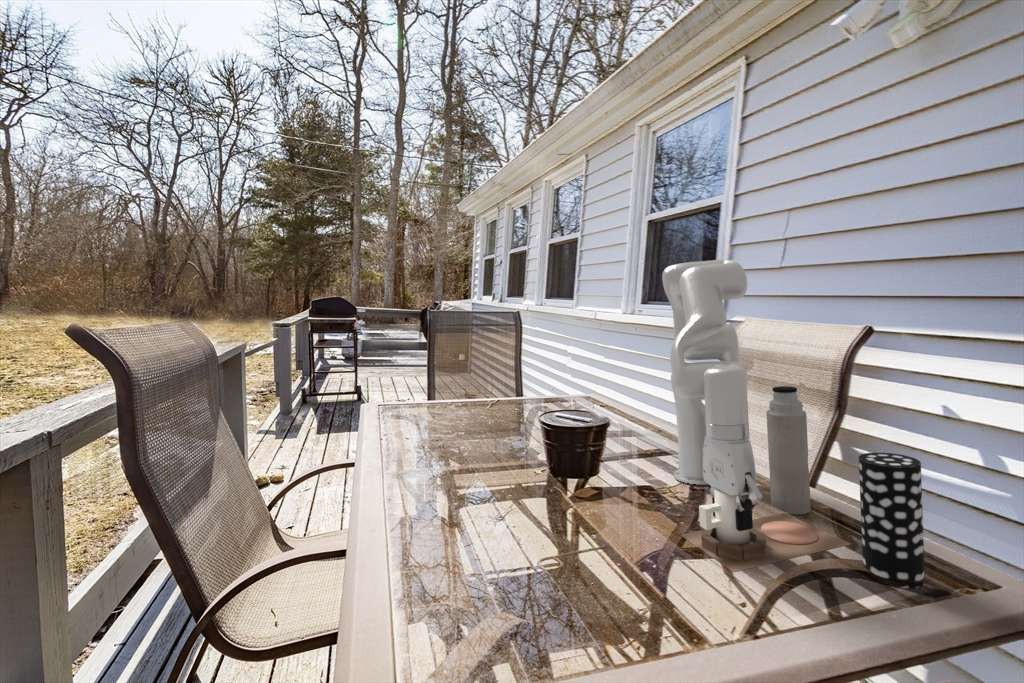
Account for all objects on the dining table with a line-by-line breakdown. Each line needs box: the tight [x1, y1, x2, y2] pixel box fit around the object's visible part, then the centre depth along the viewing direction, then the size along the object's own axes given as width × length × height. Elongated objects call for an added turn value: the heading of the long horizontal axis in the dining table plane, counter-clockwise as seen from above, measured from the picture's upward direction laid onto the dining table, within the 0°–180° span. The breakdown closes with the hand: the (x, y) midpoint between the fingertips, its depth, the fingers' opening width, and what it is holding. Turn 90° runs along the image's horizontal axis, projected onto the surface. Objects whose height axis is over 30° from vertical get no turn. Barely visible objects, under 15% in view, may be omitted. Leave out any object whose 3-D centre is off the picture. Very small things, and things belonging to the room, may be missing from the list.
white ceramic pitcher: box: [698, 488, 750, 546], centre depth 95 cm, size 11×6×10 cm, turn 105°
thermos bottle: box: [766, 385, 812, 515], centre depth 113 cm, size 8×8×28 cm
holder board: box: [680, 512, 851, 573], centre depth 97 cm, size 16×26×3 cm, turn 105°
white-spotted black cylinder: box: [858, 452, 926, 590], centre depth 83 cm, size 8×8×20 cm
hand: (732, 521), depth 96 cm, fingers closed on white ceramic pitcher, 6 cm apart
